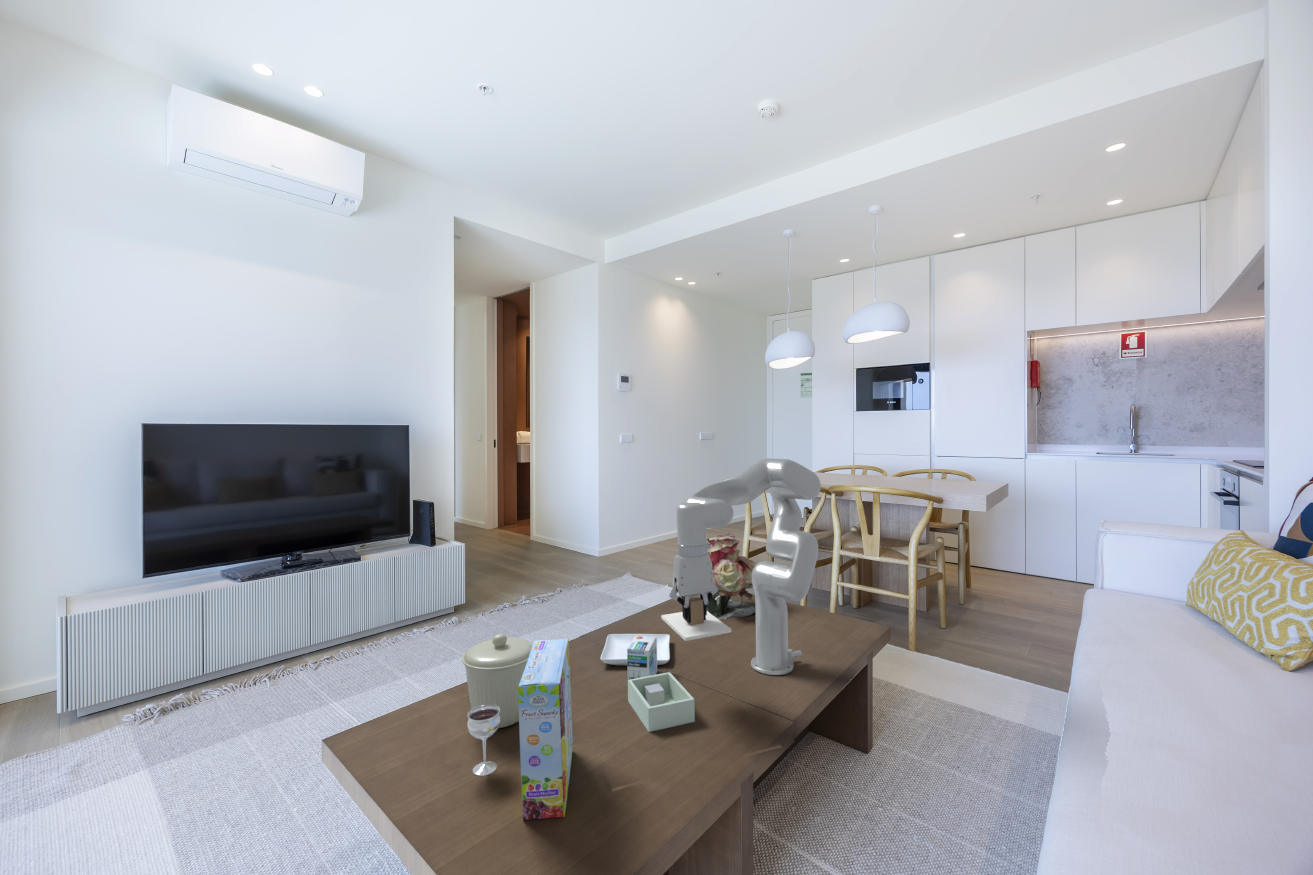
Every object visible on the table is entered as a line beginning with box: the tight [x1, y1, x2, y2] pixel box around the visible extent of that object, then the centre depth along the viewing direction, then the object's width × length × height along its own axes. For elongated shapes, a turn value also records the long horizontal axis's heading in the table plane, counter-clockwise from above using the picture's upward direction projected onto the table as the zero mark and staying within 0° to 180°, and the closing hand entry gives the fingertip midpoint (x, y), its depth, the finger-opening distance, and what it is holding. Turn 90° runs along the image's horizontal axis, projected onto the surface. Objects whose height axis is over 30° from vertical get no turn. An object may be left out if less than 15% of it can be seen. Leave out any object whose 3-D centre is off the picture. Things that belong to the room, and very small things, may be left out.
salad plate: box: [599, 633, 671, 666], centre depth 173 cm, size 21×21×3 cm
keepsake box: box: [627, 672, 696, 733], centre depth 137 cm, size 16×12×6 cm
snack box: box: [518, 638, 574, 821], centre depth 110 cm, size 22×9×26 cm, turn 5°
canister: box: [461, 633, 533, 729], centre depth 136 cm, size 18×18×21 cm
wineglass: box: [466, 705, 501, 777], centre depth 115 cm, size 7×7×12 cm
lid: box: [660, 595, 733, 642], centre depth 141 cm, size 17×13×7 cm
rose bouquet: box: [697, 532, 757, 622], centre depth 217 cm, size 26×29×30 cm
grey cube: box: [645, 683, 664, 706], centre depth 141 cm, size 4×4×4 cm
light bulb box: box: [626, 636, 658, 681], centre depth 156 cm, size 11×7×11 cm, turn 168°
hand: (694, 619), depth 141 cm, fingers closed on lid, 3 cm apart
